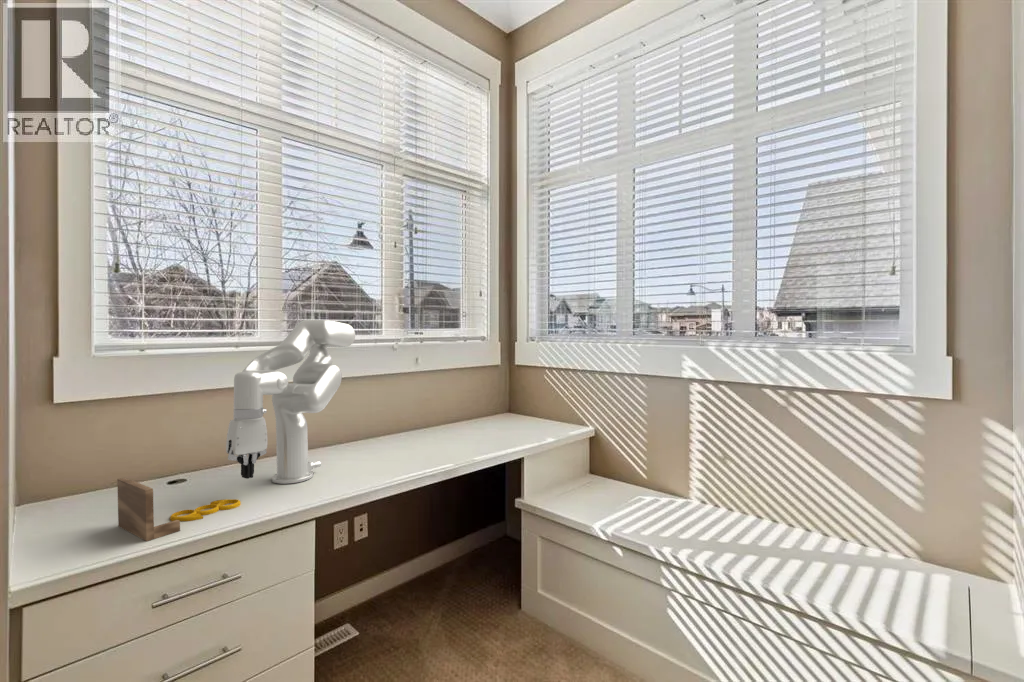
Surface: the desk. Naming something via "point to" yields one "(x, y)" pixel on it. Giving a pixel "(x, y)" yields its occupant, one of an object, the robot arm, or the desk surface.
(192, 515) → the yellow triple ring ornament
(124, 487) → the display stand
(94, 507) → the desk surface
